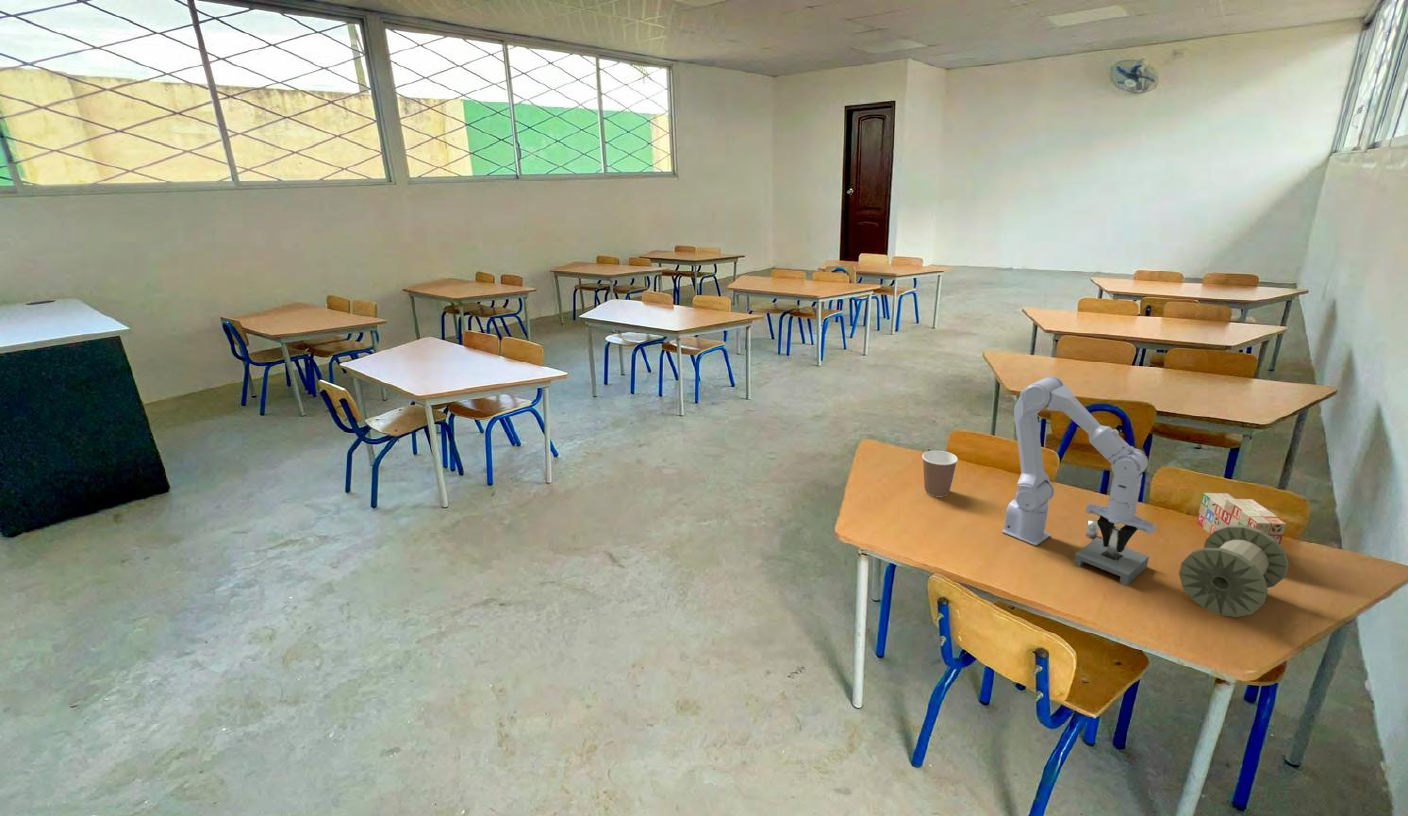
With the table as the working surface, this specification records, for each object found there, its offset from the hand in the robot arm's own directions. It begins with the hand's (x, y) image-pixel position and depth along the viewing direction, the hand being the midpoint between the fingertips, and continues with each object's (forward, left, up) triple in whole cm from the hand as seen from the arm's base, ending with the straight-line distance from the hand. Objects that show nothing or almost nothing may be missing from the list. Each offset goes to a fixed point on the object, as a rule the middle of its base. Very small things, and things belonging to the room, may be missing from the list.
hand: (1113, 548), depth 158 cm
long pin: (0, 0, -3) cm, 4 cm away
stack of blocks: (+16, +34, -5) cm, 38 cm away
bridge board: (0, 0, -5) cm, 5 cm away
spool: (+22, +6, -5) cm, 23 cm away
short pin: (-9, +11, -5) cm, 15 cm away
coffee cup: (-51, +3, -5) cm, 51 cm away
